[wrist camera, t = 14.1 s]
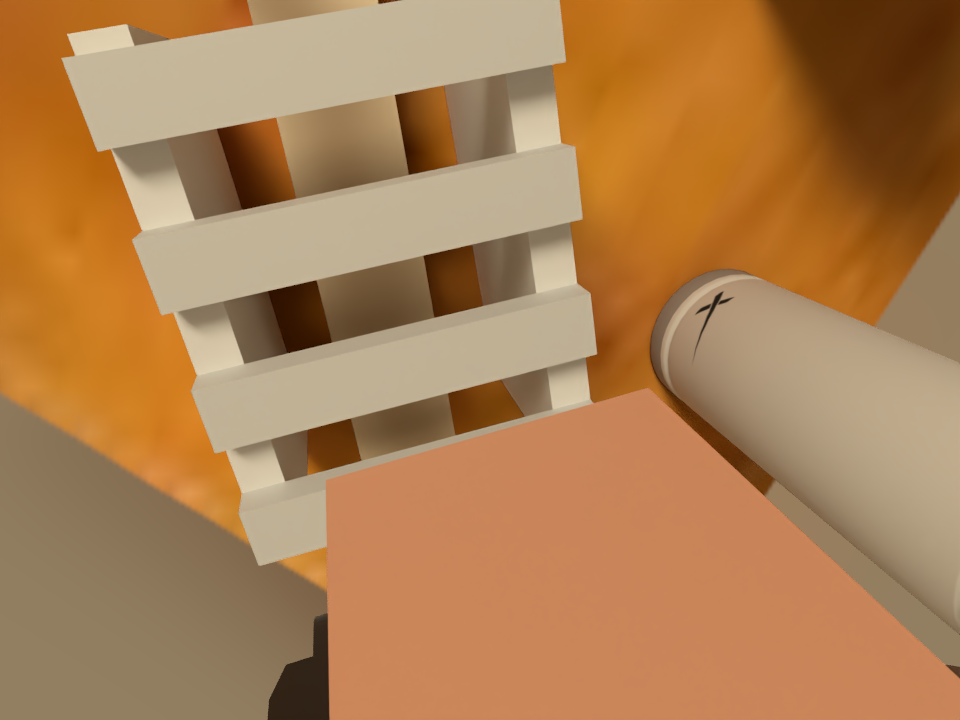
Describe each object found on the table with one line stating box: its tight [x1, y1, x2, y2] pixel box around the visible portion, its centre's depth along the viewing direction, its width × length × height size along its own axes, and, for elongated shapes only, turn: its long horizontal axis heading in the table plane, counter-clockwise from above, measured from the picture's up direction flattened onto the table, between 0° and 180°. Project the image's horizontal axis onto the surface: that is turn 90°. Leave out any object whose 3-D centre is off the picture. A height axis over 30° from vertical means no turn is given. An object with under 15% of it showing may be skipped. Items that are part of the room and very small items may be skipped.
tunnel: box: [62, 0, 597, 566], centre depth 21 cm, size 10×14×10 cm
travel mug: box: [650, 269, 960, 635], centre depth 22 cm, size 6×7×20 cm
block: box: [326, 388, 960, 720], centre depth 8 cm, size 5×5×6 cm
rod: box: [247, 0, 455, 461], centre depth 22 cm, size 4×26×4 cm, turn 8°
